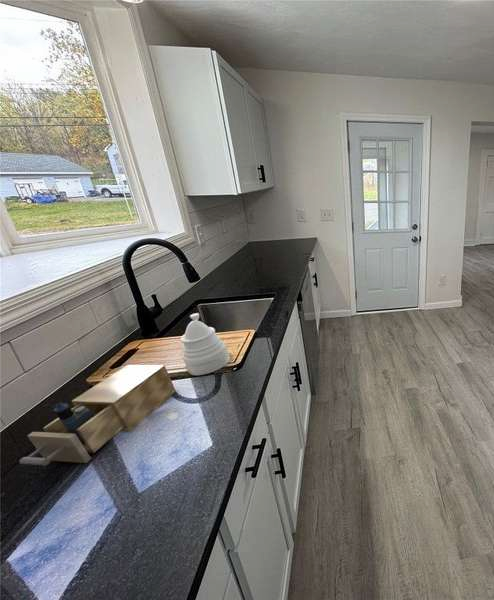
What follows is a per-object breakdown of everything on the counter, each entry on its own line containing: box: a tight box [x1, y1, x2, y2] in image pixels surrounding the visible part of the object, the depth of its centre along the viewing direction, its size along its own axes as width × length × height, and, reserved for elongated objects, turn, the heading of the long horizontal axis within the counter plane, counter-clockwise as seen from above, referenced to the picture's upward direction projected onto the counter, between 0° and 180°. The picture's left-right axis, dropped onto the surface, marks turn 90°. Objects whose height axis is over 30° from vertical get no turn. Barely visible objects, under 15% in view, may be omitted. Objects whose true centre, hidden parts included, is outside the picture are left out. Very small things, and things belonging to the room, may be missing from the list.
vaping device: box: [53, 401, 94, 445], centre depth 75 cm, size 3×5×12 cm, turn 166°
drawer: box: [18, 404, 125, 466], centre depth 76 cm, size 19×11×8 cm, turn 173°
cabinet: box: [71, 364, 177, 432], centre depth 87 cm, size 16×13×10 cm
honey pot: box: [180, 312, 231, 376], centre depth 105 cm, size 13×13×18 cm
